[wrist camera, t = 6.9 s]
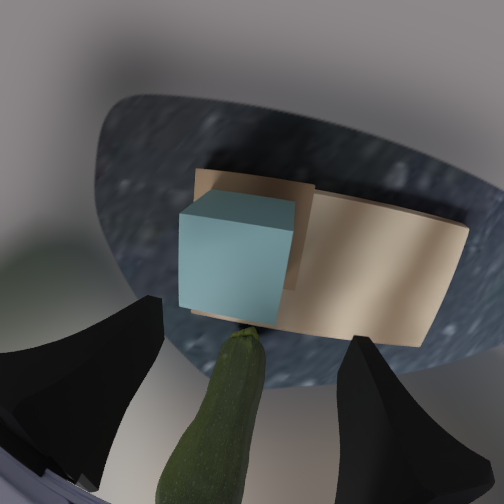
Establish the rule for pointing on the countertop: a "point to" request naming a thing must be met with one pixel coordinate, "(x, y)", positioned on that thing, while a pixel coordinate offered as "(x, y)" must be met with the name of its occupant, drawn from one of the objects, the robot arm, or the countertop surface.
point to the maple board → (354, 262)
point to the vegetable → (219, 430)
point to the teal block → (235, 254)
